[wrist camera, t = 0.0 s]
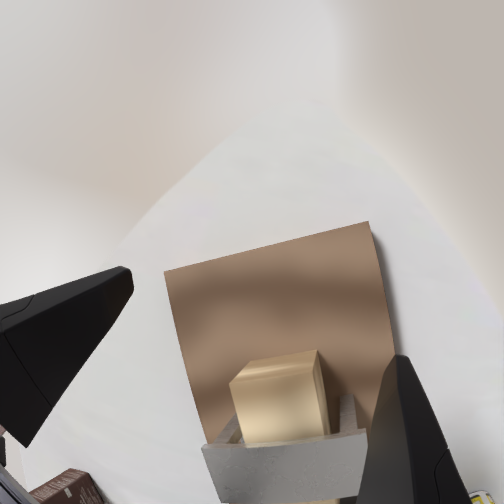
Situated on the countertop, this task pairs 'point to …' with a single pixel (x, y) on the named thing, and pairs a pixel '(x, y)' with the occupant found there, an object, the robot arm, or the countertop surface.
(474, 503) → the supplement bottle
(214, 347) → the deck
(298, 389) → the bar
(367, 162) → the countertop surface
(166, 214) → the countertop surface
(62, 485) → the box
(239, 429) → the tunnel
